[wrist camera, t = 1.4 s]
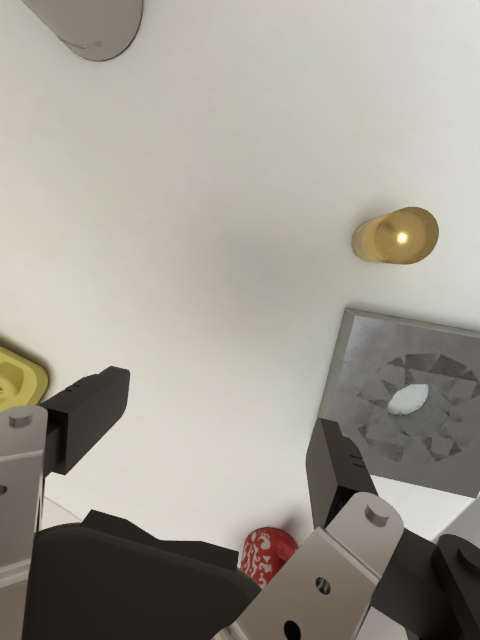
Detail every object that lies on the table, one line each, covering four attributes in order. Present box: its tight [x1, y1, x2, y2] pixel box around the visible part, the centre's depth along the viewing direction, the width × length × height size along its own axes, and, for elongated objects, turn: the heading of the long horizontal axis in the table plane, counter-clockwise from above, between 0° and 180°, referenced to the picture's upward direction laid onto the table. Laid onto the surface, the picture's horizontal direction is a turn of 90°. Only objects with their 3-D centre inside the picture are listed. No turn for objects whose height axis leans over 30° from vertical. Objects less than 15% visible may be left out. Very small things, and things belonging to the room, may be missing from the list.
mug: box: [240, 528, 298, 590], centre depth 31 cm, size 13×9×14 cm
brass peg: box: [352, 207, 439, 264], centre depth 25 cm, size 4×4×8 cm
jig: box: [317, 308, 480, 498], centre depth 29 cm, size 16×16×4 cm
